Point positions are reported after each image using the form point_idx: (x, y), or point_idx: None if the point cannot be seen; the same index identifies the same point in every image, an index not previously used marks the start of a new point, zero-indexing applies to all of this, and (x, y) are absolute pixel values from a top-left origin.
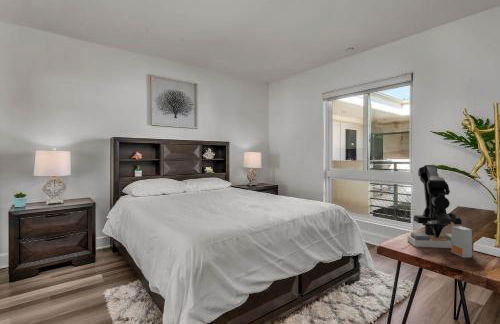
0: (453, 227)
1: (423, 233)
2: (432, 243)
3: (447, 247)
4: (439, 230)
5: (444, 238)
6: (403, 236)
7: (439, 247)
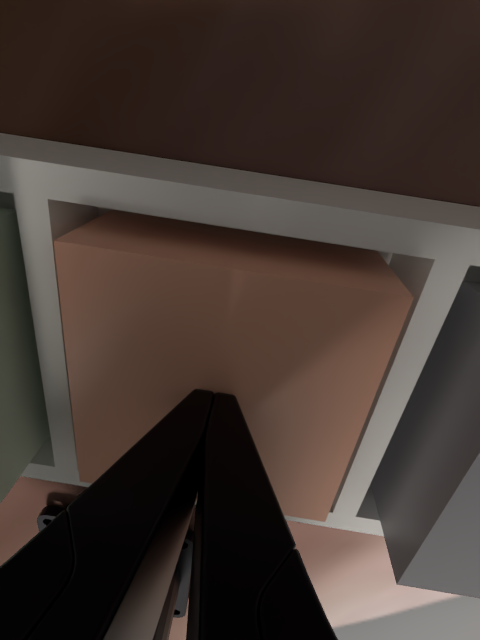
0: None
1: (459, 555)
2: (448, 213)
3: (149, 159)
4: (121, 557)
5: (90, 322)
6: (436, 594)
7: (292, 179)
